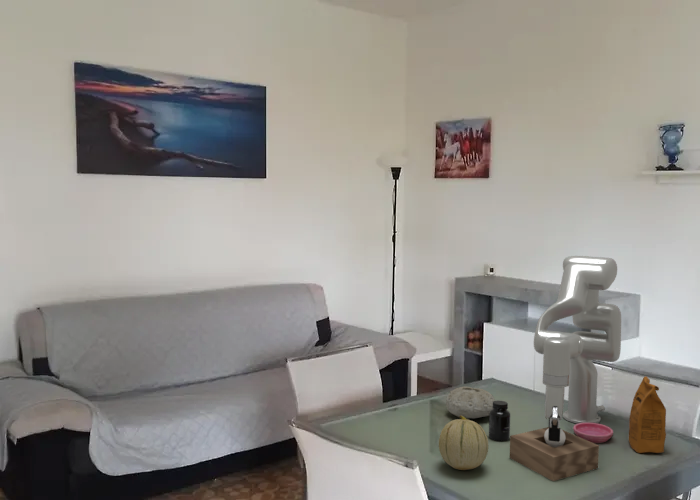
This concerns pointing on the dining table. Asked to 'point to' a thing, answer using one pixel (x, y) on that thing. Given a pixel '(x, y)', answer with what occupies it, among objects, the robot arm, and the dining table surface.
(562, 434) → the lightbulb
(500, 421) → the supplement bottle
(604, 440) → the saucer
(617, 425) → the dining table surface
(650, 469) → the dining table surface
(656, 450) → the coffee package
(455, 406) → the grey rounded lump
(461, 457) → the cantaloupe
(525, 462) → the socket block
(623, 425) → the dining table surface
